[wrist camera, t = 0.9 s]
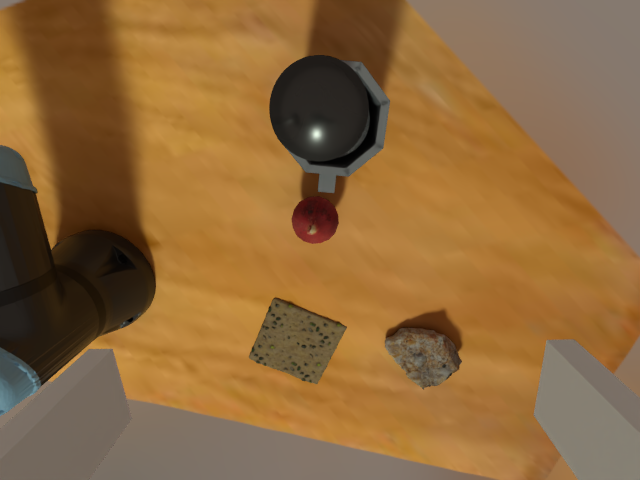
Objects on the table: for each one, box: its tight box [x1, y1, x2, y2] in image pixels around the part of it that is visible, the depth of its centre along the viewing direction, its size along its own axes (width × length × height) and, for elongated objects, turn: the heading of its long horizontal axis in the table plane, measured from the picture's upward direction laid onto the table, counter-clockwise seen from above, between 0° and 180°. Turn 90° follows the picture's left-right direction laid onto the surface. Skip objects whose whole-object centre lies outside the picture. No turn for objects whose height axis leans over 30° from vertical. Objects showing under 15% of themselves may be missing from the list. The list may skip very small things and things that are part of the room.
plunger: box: [270, 55, 370, 161], centre depth 23 cm, size 7×7×19 cm
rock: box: [385, 328, 462, 389], centre depth 50 cm, size 9×6×10 cm
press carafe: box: [285, 60, 390, 193], centre depth 37 cm, size 9×11×14 cm
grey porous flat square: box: [249, 298, 347, 384], centre depth 53 cm, size 12×12×1 cm
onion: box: [292, 196, 339, 244], centre depth 43 cm, size 6×6×8 cm
